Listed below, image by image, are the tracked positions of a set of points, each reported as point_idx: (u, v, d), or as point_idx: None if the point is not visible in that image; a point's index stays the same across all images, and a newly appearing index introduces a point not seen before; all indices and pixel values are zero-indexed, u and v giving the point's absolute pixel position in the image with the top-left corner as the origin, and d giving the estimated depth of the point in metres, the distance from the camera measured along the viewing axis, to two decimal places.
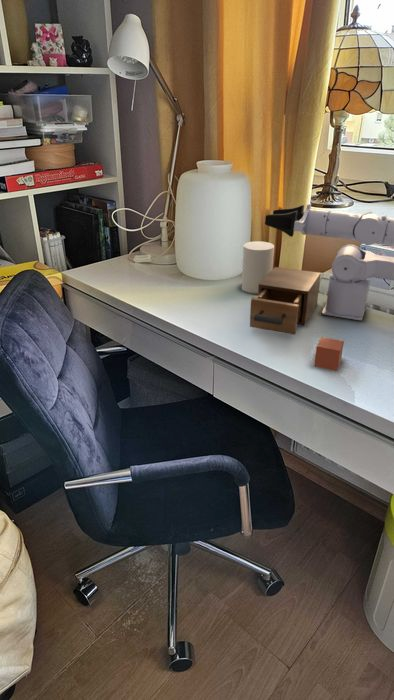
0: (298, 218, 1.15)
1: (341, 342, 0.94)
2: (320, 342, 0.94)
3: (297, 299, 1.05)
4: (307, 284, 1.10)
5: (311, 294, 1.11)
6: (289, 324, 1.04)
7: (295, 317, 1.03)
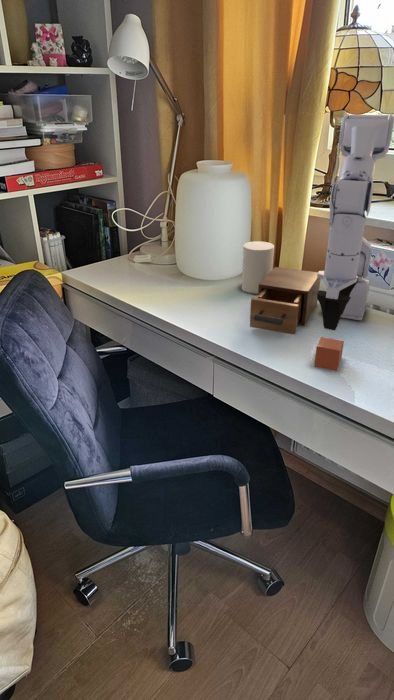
0: None
1: (341, 342, 0.94)
2: (320, 342, 0.94)
3: (297, 299, 1.05)
4: (307, 284, 1.10)
5: (311, 294, 1.11)
6: (289, 324, 1.04)
7: (295, 317, 1.03)
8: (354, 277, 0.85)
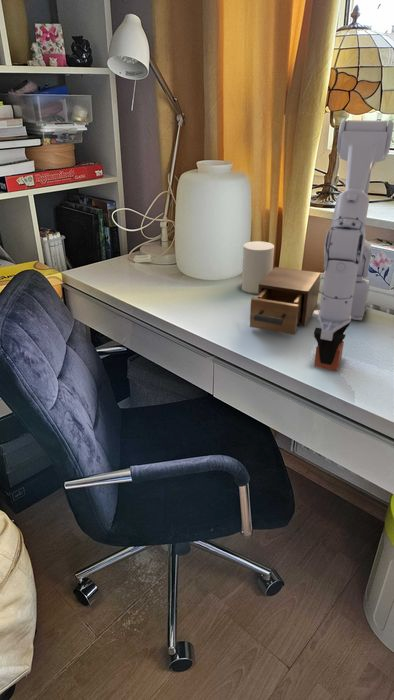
0: None
1: (341, 342, 0.94)
2: None
3: (297, 299, 1.05)
4: (307, 284, 1.10)
5: (311, 294, 1.11)
6: (289, 324, 1.04)
7: (295, 317, 1.03)
8: (348, 318, 0.89)
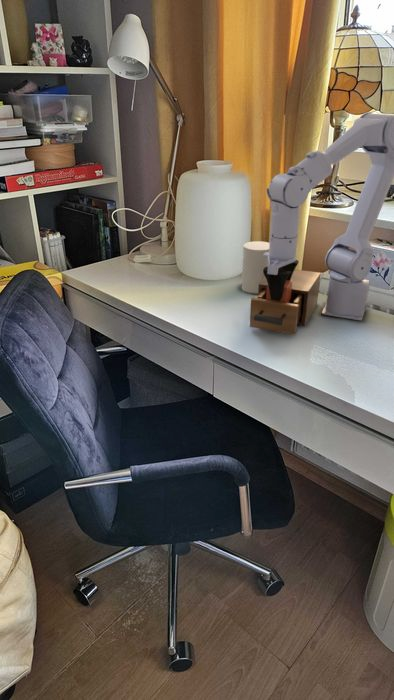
0: (285, 265, 1.05)
1: (289, 281, 1.05)
2: None
3: (297, 299, 1.05)
4: (307, 284, 1.10)
5: (311, 294, 1.11)
6: (289, 324, 1.04)
7: (295, 317, 1.03)
8: (293, 257, 1.00)
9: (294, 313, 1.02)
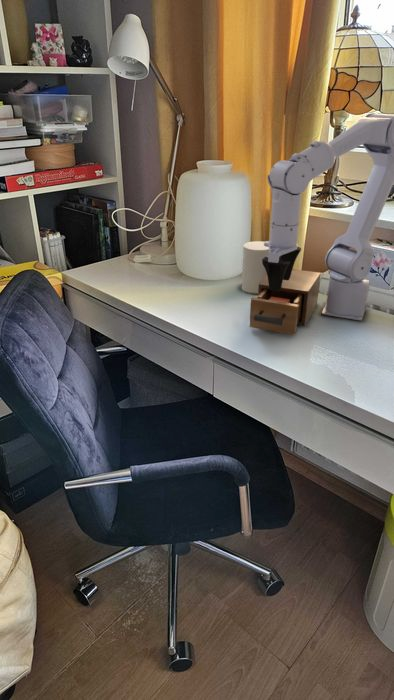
0: (287, 252, 1.05)
1: (287, 300, 1.07)
2: None
3: (297, 299, 1.05)
4: (307, 284, 1.10)
5: (311, 294, 1.11)
6: (289, 324, 1.04)
7: (295, 317, 1.03)
8: (294, 245, 0.99)
9: (294, 313, 1.02)
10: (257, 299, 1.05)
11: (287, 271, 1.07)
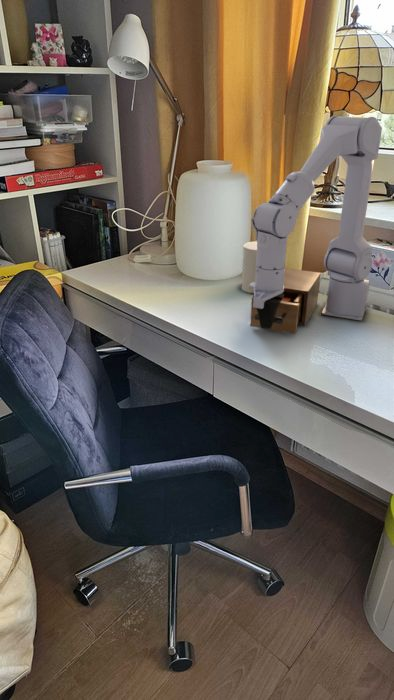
0: None
1: (288, 299, 1.08)
2: None
3: (298, 298, 1.06)
4: (307, 284, 1.10)
5: (311, 294, 1.11)
6: (290, 323, 1.04)
7: (296, 316, 1.03)
8: (280, 288, 0.95)
9: (295, 312, 1.03)
10: None
11: None
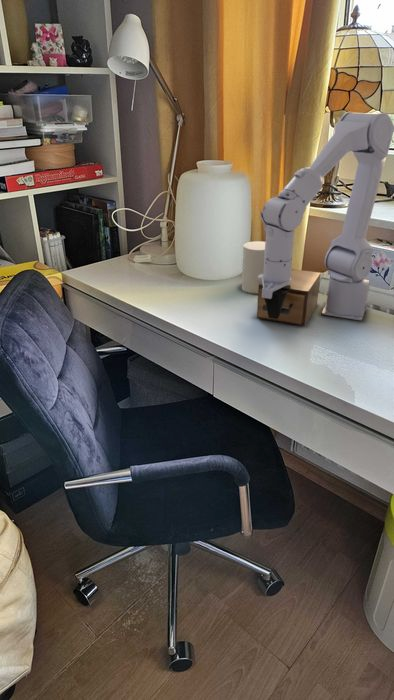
0: None
1: None
2: None
3: None
4: (307, 284, 1.10)
5: (311, 294, 1.11)
6: (296, 313, 1.09)
7: (302, 307, 1.08)
8: (287, 280, 0.99)
9: (301, 303, 1.07)
10: None
11: None
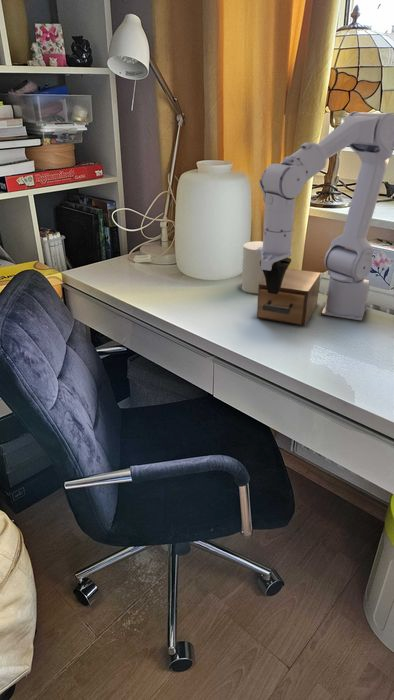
0: None
1: None
2: None
3: None
4: (307, 284, 1.10)
5: (311, 294, 1.11)
6: (296, 313, 1.09)
7: (302, 307, 1.08)
8: (287, 252, 0.95)
9: (301, 303, 1.07)
10: (265, 290, 1.10)
11: None
